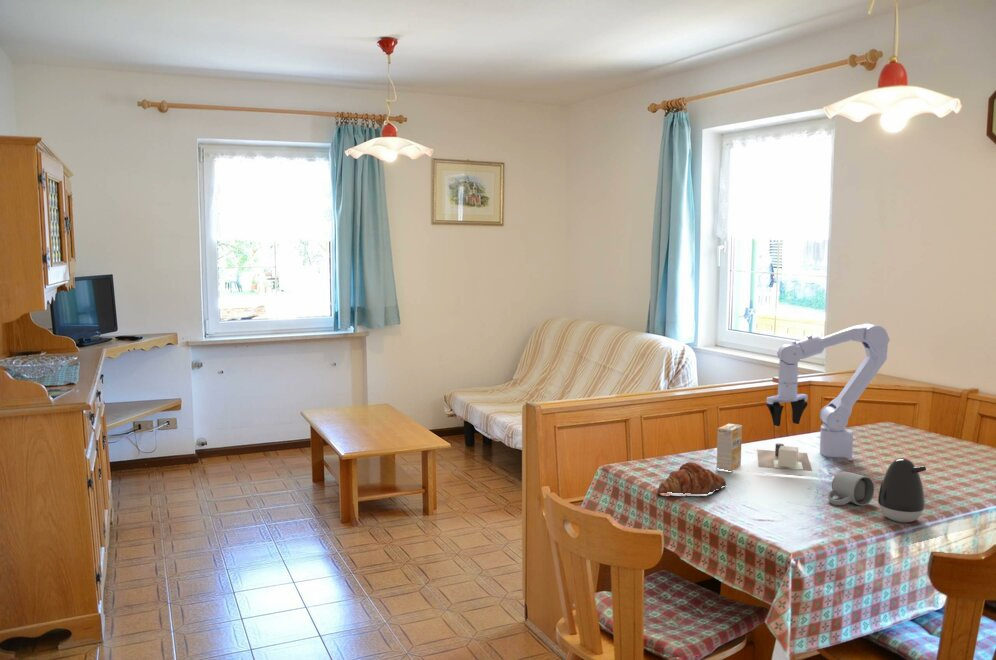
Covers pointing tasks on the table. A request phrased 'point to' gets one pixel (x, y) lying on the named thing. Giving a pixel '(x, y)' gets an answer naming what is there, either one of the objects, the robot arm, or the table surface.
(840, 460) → the table surface
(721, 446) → the supplement box
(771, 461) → the walnut board
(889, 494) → the pump dispenser
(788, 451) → the off-white matte cube
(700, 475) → the pastry
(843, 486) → the ceramic mug
